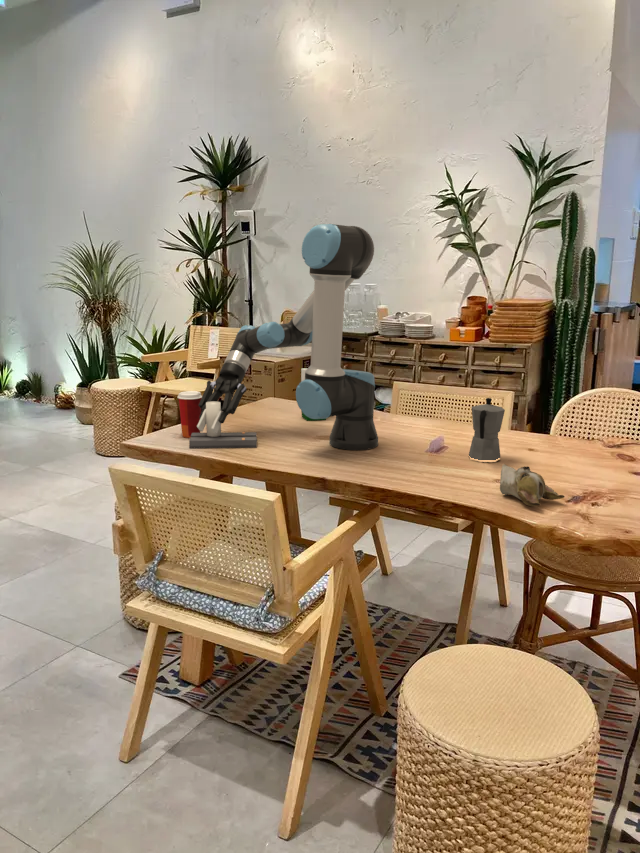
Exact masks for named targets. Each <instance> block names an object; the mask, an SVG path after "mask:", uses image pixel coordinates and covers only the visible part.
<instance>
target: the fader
mask: <svg viewBox="0 0 640 853" xmlns="http://www.w3.org/2000/svg"><path fill="white" fill-rule="evenodd" d="M221 408H222V406H221V401H218V400H217V401H210V402H206V425H205V427H206V433H207V436H211V437H216V436H220V435H221V432H222V424H221V425H220V428H219V430H218V432H217V434H216V433H214V432H213V430H212V429H211V428H212V425H213V423H214V421H215V419H216V417H217V414H218V412H219V411H222V409H221Z"/></svg>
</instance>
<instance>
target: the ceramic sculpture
mask: <svg viewBox="0 0 640 853" xmlns="http://www.w3.org/2000/svg"><path fill="white" fill-rule="evenodd" d="M499 491H500V493H501V494H502V495H503V494H505V495H504V496H508V495H507V494H512V495H511V496H513V497H516V498H517V499H519V500H520V501H521V502H522V503H523V504H524V505H527V506H528V507H529V506H530V507H539V506H541V503H540V500H541V499H545V500H548V501H553V500H559V499H561V500H562V499H564V498H565V497H566V496H565V495H563V494H558V492H556V491H555V490H554V488H552V487H551V486H549V485H547V484H546V481H545V479H544V478H543V476H542V475H541V474H539V473H537V472H534V471H532V470H531V469H530V467H529V466H521V467H518V468H517V469H516V468H514V467H511V466H510V465H509V466H508V465H506V464H505V463H504V464H502V466H501V471H500V481H499Z"/></svg>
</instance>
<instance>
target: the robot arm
mask: <svg viewBox="0 0 640 853" xmlns="http://www.w3.org/2000/svg"><path fill="white" fill-rule="evenodd" d="M374 255H375V243H374V241H373V239H372V236H371V235H370V233H369V232H368V231H367V230H365V229H364V228H362V227H360V226H355V225H342V224H334V223H333V224H332V223H322V224H321V223H320V224H317V225H315V226H313V227H312V228H310V229H309V231H308V232H307V233H306V234H305V236H304V238H303V240H302V246H301V256H302V259H303V260H304V261H303V262H304V263H305V265H307V267H309V275H310V277H311V278H312V279H313V281H314V283H313V291H312V292H311V294H310V295H309V296H308V297H307V298H306V299H305V301H304V302H303V303H302V305H301V306H300V308H299V309H298V310H297V311H296V313H295V314H294V316H293V317H292V318H291V319H290V320H289V322H287V323H278V322H276V321H269V322H265V323H263V324H261V325H258V326H257V327H256V326H254V325H247V324H245V325H242V326H241V327H240V329H239V331H238V332H237V334H236V335H235V339H234V340H233V342H232V345H231V347H230V350H229V352H228V354H227V356H226V358H225V359H224V364H222V367H221V369H220V371H219V373H218V374H219V376H218V377H217V378H216V379H215V381H211V380H207V381H206V387H205V390H204V392H203V394H202V395H201V396H202V398H201V400H200V403H199V407H200V408H201V414H200V416H199V418H200V421H199V423H198V425H197V428H198V429H199V430H200V433H204V429H205V427H206V402H210V401H217V402H218V400H219V399H220V398H221V397H223V395H224V399H223V404H222V407H221V411H219V412H218V414H217V417H216V419H215V421H214V423H213V425H212V428H211V429H212V430H213V432H214V433H216V434H217V432H218V430H219V428H220V425H221V426H222V424H224V423H225V421H226V419H227V417H228V415H234V414H235V412H236V411H237V409H238V406H239V404H240V402H241V400H242V398H243V395H244V394H246V392H247V391H248V389H247V387H246V386H245V384H244V383H242V382H243V380H244V377H245V376H246V373H247V371H248V369H249V367H250V364H251V362H252V360H253V358H254V355H255V354H257V353H260V352H262V351H265V350H266V351H267V350H272V349H280V348H290V347H292V348H293V347H302V346H307V345H309V344H310V343H311V352H310V365H309V366H308V368H307V367H306V368H307V369H306V370H305V380H303V381H302V382H301V381H300V382H299V383H298V384H297V386H296V388H295V389H296V390H295V399H296V403H297V406H298V408H299V410H302V412H303V413H304V414H305V415H306V416H307V417H309V418H311V419H326V420H327V419H328V418H332V417H335V420H334V422H333V426H332V429H331V431H330V435H329V439H328V440H329V443H328V444H329V445H330V447H331V446H332V447H333V448H335V449H340V450H341V449H342V450H349V451H364V450H365V451H366V450H370V449H375V448H377V447H378V446H379V435H378V432H377V429H376V428H377V427H376V426H375V422H374V413H375V412H374V410H375V408H374V407H375V388H376V384H375V382H376V381H375V376H374V374H373V373H372V372H370V371H363V370H355V369H344V368H342V367H341V365H342V346H343V344H342V342H343V327H344V314H345V312H344V311H345V297H346V296H345V293H346V292H345V291H346V290H347V289H348V288H349V286H351V284H352V283H353V282H354V280H355V281H357V280H360V279H361V278H362V276H363V275H364V274H365V273H366V272H367V270H368V268H369V267H370V265H371V264H372V261H373V259H374ZM302 412H301V413H302Z"/></svg>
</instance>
